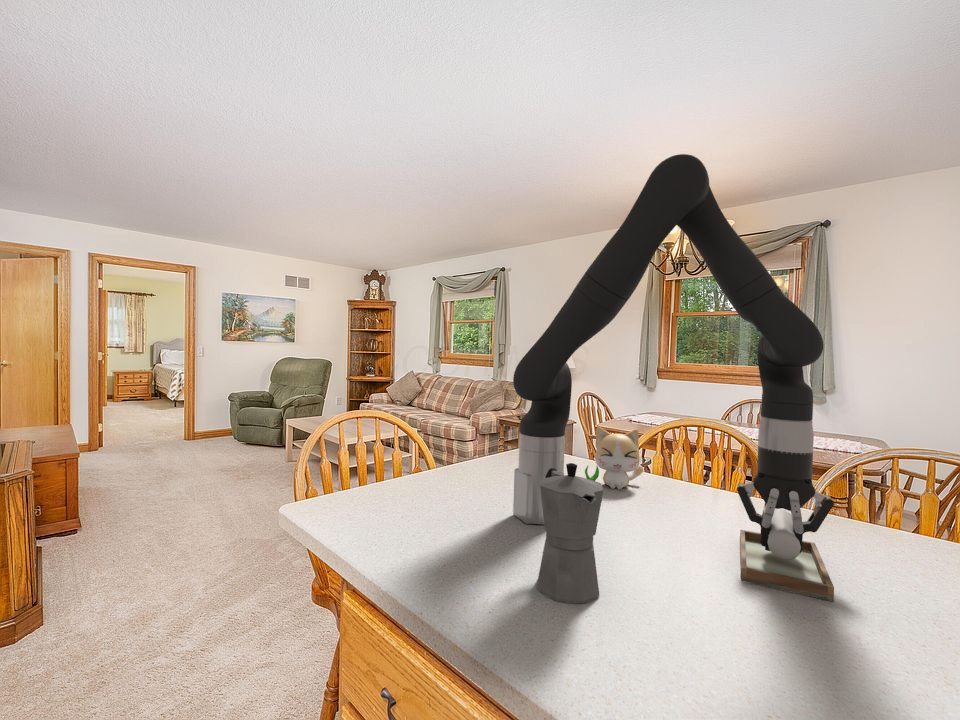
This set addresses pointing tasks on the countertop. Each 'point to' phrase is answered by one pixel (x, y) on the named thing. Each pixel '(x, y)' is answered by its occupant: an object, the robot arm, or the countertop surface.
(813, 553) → the tray
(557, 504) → the coffeepot
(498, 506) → the countertop surface
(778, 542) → the salt shaker
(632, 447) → the kitten
